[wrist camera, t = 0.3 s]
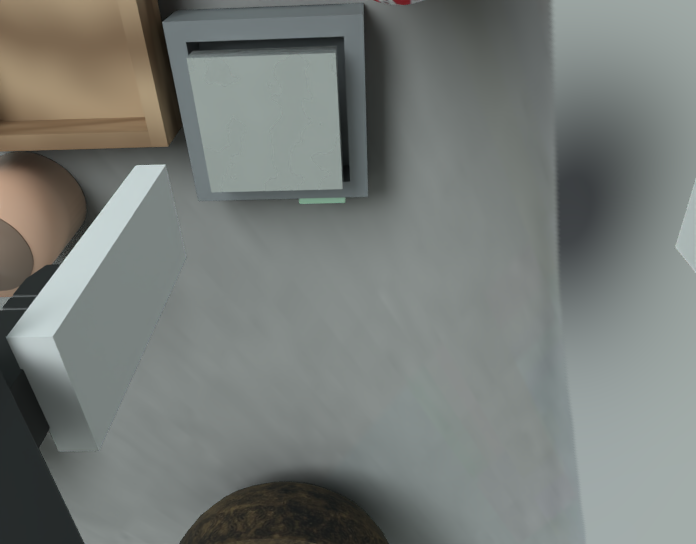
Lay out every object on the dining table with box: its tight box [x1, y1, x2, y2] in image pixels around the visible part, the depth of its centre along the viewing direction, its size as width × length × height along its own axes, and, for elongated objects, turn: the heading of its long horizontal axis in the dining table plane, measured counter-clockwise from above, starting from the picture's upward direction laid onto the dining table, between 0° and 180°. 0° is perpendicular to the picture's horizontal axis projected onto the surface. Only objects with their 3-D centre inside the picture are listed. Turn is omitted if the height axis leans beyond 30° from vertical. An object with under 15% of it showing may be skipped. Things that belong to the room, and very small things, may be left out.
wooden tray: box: [0, 0, 182, 151], centre depth 35 cm, size 13×13×4 cm
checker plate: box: [186, 46, 343, 192], centre depth 35 cm, size 8×8×2 cm
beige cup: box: [0, 152, 86, 297], centre depth 40 cm, size 7×7×7 cm
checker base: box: [162, 3, 368, 204], centre depth 38 cm, size 12×11×3 cm
